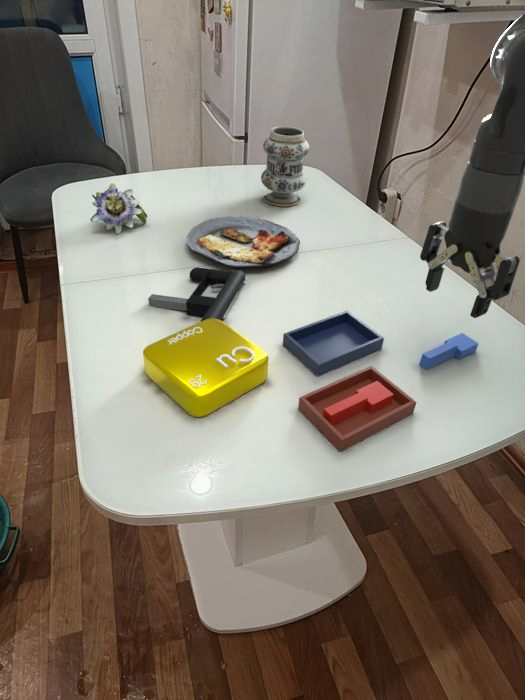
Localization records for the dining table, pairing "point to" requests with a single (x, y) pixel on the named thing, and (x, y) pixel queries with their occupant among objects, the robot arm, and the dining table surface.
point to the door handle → (203, 304)
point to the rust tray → (361, 422)
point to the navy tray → (332, 342)
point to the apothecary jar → (284, 165)
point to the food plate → (243, 241)
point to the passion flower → (117, 208)
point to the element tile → (205, 366)
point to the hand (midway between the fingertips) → (453, 302)
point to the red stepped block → (359, 403)
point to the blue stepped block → (449, 350)
